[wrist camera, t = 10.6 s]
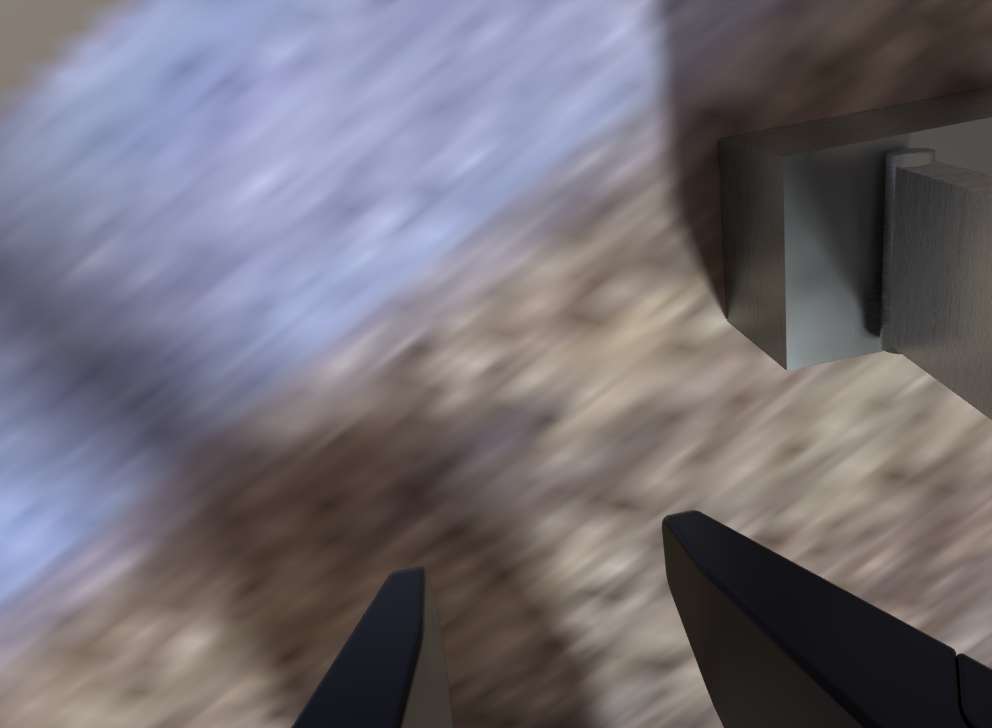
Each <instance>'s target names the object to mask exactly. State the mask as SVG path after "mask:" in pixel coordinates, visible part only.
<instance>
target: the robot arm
mask: <svg viewBox="0 0 992 728" xmlns="http://www.w3.org/2000/svg"><path fill="white" fill-rule="evenodd" d="M662 534H663V545H664V555H665V566H666V575H667V580H668V584H669V588H670V591H671V594H672V597H673V599H674V602H675V605H676V607H677V610H678V613H679V615H680V618H681V621H682V623H683V626H684V629H685V631H686V634H687V637H688V639H689V642H690V645H691V647H692V650H693V653H694V655H695V658H696V661H697V664H698V666H699V669H700V672H701V674H702V677H703V680H704V682H705V685H706V688H707V690H708V693H709V695H710V698H711V700H712V703H713V705H714V707H715V710H716V712H717V714H718V716H719V718H720V720H721V722H722V724H723V726H724V728H992V669H991V668H989V667H987V666H985V665H983V664H981V663H979V662H978V661H976V660H974V659H972V658H970V657H968V656H967V655H965V654H958V655H957V657H956V652H955V650H954V649H953V648H951V647H949V646H947V645H946V644H944V643H942V642H940V641H938V640H936V639H935V638H933V637H931V636H929V635H927V634H925V633H923V632H922V631H920V630H918V629H916V628H914V627H912V626H910V625H909V624H907V623H905V622H903V621H901V620H899V619H897V618H896V617H894V616H892V615H890V614H888V613H886V612H885V611H883V610H881V609H879V608H877V607H875V606H873V605H872V604H870V603H868V602H866V601H864V600H862V599H860V598H859V597H857V596H855V595H853V594H851V593H849V592H848V591H846V590H844V589H842V588H840V587H838V586H836V585H835V584H833V583H831V582H829V581H827V580H825V579H823V578H822V577H820V576H818V575H816V574H814V573H812V572H810V571H809V570H807V569H805V568H803V567H801V566H799V565H798V564H796V563H794V562H792V561H790V560H788V559H786V558H785V557H783V556H781V555H779V554H777V553H775V552H773V551H772V550H770V549H768V548H766V547H764V546H762V545H761V544H759V543H757V542H755V541H753V540H751V539H749V538H748V537H746V536H744V535H742V534H740V533H738V532H736V531H735V530H733V529H731V528H729V527H727V526H725V525H723V524H722V523H720V522H718V521H716V520H714V519H712V518H711V517H709V516H707V515H705V514H703V513H701V512H699V511H696V510H691V511H686V512H681V513H677V514H672V515H667V516H666V517H665V518H664V519H663V522H662ZM291 728H453V720H452V711H451V702H450V694H449V685H448V677H447V668H446V660H445V651H444V643H443V635H442V629H441V624H440V619H439V615H438V611H437V607H436V603H435V599H434V595H433V591H432V587H431V583H430V579H429V575H428V572H427V570H426V569H425V568H424V567H415V568H410V569H405V570H400V571H396V572H393V573H392V574H390V575H389V577H388V578H387V580H386V581H385V583H384V584H383V586H382V587H381V589H380V591H379V592H378V594H377V595H376V597H375V598H374V600H373V601H372V603H371V605H370V606H369V608H368V609H367V611H366V612H365V614H364V615H363V617H362V619H361V620H360V622H359V623H358V625H357V626H356V628H355V629H354V631H353V633H352V634H351V636H350V637H349V639H348V640H347V642H346V643H345V645H344V647H343V648H342V650H341V651H340V653H339V654H338V656H337V657H336V659H335V661H334V662H333V664H332V665H331V667H330V668H329V670H328V671H327V673H326V675H325V676H324V678H323V679H322V681H321V682H320V684H319V685H318V687H317V689H316V690H315V692H314V693H313V695H312V696H311V698H310V699H309V701H308V703H307V704H306V706H305V707H304V709H303V710H302V712H301V713H300V715H299V717H298V718H297V720H296V721H295V723H294V724H293V726H292V727H291Z"/></svg>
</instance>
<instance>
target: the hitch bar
mask: <svg viewBox="0 0 992 728" xmlns="http://www.w3.org/2000/svg"><path fill="white" fill-rule="evenodd" d="M718 143H719V163H720V183H721V203H722V223H723V243H724V262H725V282H726V302H727V321H728V322H729V323H730V324H731V325H733V326H734V327H735V328H736V329H737V330H739V331H740V332H741V333H742V334H743V335H745V336H746V337H747V338H748V339H749V340H751V341H752V342H753V343H754V344H755V345H757V346H758V347H759V348H760V349H761V350H763V351H764V352H765V353H766V354H767V355H769V356H770V357H771V358H772V359H773V360H775V361H776V362H777V363H778V364H779V365H781V366H782V367H783V368H784V369H786V370H787V371H788V370H793V369H798V368H803V367H807V366H812V365H817V364H822V363H827V362H832V361H837V360H842V359H847V358H852V357H857V356H862V355H866V354H871V353H876V352H881V351H884V350H882V349H881V348H880V319H881V290H882V261H883V233H884V204H885V175H886V154H887V153H889V152H892V151H896V150H901V149H909V148H931V149H934V150H935V161H939V162H943V163H947V164H950V165H954V166H958V167H962V168H966V169H970V170H973V171H977V172H981V173H985V174H989V175H992V87H990V88H985V89H980V90H975V91H969V92H964V93H959V94H954V95H949V96H943V97H938V98H933V99H928V100H922V101H917V102H912V103H907V104H901V105H896V106H891V107H886V108H880V109H875V110H870V111H865V112H860V113H854V114H849V115H844V116H839V117H833V118H828V119H823V120H818V121H812V122H807V123H802V124H797V125H792V126H786V127H781V128H776V129H771V130H765V131H760V132H755V133H750V134H744V135H739V136H734V137H729V138H723V139H718Z"/></svg>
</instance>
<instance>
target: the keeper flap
mask: <svg viewBox="0 0 992 728" xmlns="http://www.w3.org/2000/svg"><path fill="white" fill-rule="evenodd" d="M880 348H881V349H882V350H884V351H886V352H889V353H894V354H903V355H904V356H905V357H907V358H908V359H909V360H911V361H912V362H914V363H915V364H916V365H918V366H919V367H920V368H922V369H923V370H924V371H926V372H927V373H929V374H930V375H931V376H933V377H934V378H935V379H937V380H938V381H939V382H941V383H942V384H943V385H945V386H946V387H948V388H949V389H950V390H952V391H953V392H954V393H956V394H957V395H958V396H960V397H961V398H963V399H964V400H965V401H967V402H968V403H969V404H971V405H972V406H973V407H975V408H976V409H977V410H979V411H980V412H982V413H983V414H984V415H986V416H987V417H988V418H990V419H991V420H992V175H989V174H985V173H981V172H977V171H973V170H970V169H966V168H962V167H958V166H954V165H950V164H947V163H943V162H939V161H935V150H934V149H931V148H909V149H901V150H896V151H892V152H889V153H887V154H886V175H885V204H884V233H883V261H882V290H881V319H880Z"/></svg>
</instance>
